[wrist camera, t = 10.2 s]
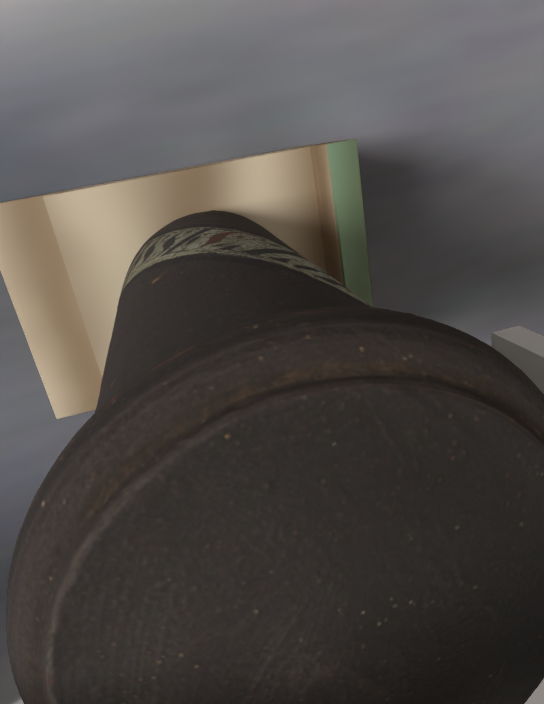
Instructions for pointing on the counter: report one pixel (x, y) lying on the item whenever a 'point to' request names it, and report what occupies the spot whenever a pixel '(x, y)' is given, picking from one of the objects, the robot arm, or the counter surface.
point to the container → (284, 499)
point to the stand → (144, 221)
